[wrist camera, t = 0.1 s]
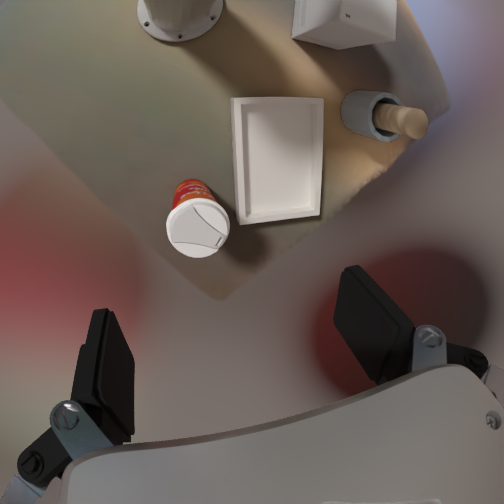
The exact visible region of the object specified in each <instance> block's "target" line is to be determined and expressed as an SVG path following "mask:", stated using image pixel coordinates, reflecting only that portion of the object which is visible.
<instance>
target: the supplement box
mask: <svg viewBox="0 0 504 504" xmlns="http://www.w3.org/2000/svg"><path fill="white" fill-rule="evenodd" d="M396 4H397V0H296V2H295V11H294V21H293V30H292V38H293V39H297V40H301V41H306V42H310V43H314V44H318V45H321V46H325V47H329V48H332V49H336V50H341V49H346V48H352V47H357V46H363V45H369V44H376V43H383V42H392V41H395V34H396Z"/></svg>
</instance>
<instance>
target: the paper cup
mask: <svg viewBox="0 0 504 504" xmlns="http://www.w3.org/2000/svg"><path fill="white" fill-rule="evenodd" d="M166 227H167V234H168V238H169V240H170V242H171V243H172V245H173V246H174V247H175V248H176V249H177V250H178V251H180V252H181V253H183V254H185V255H187V256H190V257H196V258H200V257H206V256H209V255H211V254H213V253H215V252H216V251H218V249H219V248H220V247H221V246H222V245H223V243H224V242H225V241H226V239H227V237H228V234H229V229H230V222H229V218H228V215H227V213H226V212H225V210H224V209H223V208H222V207H221V206H220V205H219V204H218V203H217V202H216V200H215V198H214V197H213V195H212V194H211V192H210V190H209V189H208V187H207V186H206V185H205V184H204V183H203V182H201V181H199V180H196V179H190V180H186V181H184V182H182V183H181V184H180V185H179V186H178V187H177V189H176V192H175V195H174V200H173V206H172V211H171V213H170V214H169V216H168V219H167V222H166Z"/></svg>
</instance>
